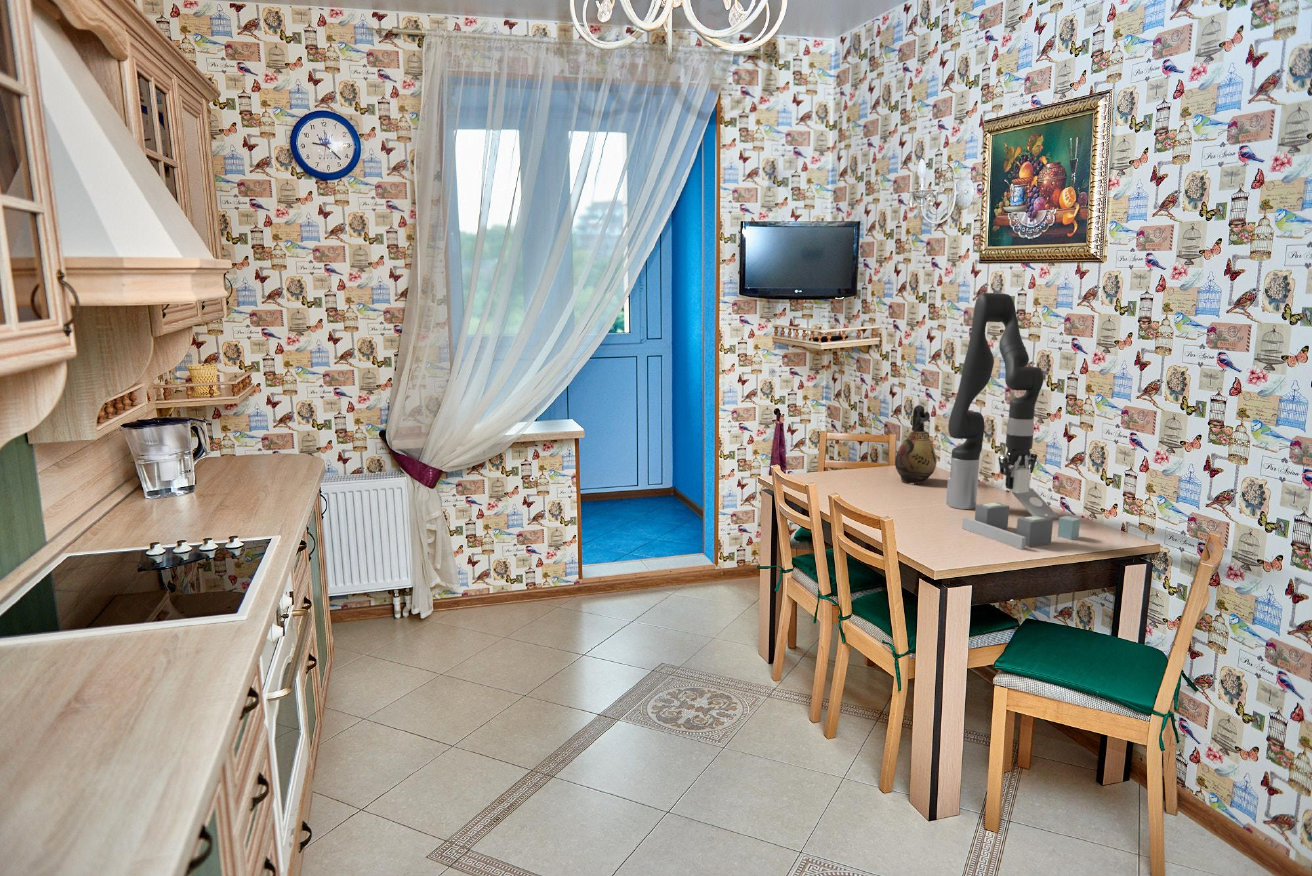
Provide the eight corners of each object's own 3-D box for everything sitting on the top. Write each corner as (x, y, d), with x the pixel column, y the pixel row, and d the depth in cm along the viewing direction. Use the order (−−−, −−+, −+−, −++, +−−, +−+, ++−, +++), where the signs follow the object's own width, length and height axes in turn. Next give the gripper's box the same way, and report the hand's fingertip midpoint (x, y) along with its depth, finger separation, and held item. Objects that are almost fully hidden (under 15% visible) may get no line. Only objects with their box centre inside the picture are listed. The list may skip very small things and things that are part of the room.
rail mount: (962, 528, 279) (963, 504, 278) (993, 524, 285) (995, 500, 283) (1021, 549, 258) (1023, 523, 257) (1053, 544, 263) (1055, 519, 262)
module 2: (1057, 536, 272) (1059, 517, 271) (1064, 534, 274) (1066, 515, 273) (1071, 540, 268) (1072, 520, 267) (1078, 537, 270) (1080, 519, 269)
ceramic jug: (940, 486, 338) (945, 409, 332) (899, 486, 338) (904, 408, 333) (927, 476, 354) (931, 402, 349) (888, 476, 354) (892, 402, 349)
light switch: (1039, 516, 288) (1013, 487, 298) (1032, 530, 291) (1006, 500, 302) (1060, 514, 291) (1033, 485, 301) (1052, 527, 294) (1026, 498, 305)
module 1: (1002, 489, 271) (1004, 465, 270) (1013, 487, 273) (1015, 464, 272) (1017, 493, 266) (1019, 469, 265) (1028, 491, 268) (1030, 468, 267)
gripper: (1027, 429, 273) (1023, 483, 276) (992, 432, 267) (988, 487, 270) (1047, 433, 266) (1042, 488, 269) (1011, 436, 260) (1007, 492, 263)
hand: (1015, 487), depth 269 cm, fingers closed on module 1, 4 cm apart
